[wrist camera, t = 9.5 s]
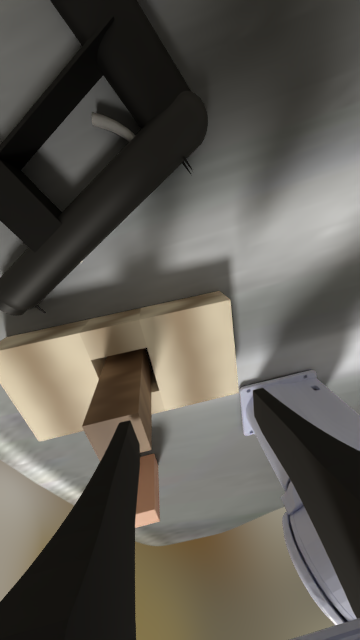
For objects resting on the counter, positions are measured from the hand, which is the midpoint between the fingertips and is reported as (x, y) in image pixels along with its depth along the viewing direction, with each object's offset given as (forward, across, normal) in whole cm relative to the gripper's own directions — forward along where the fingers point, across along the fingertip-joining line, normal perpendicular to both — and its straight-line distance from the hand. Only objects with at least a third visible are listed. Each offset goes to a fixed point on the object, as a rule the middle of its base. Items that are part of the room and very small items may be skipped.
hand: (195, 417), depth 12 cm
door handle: (+11, +6, -17) cm, 21 cm away
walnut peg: (+10, +5, +1) cm, 11 cm away
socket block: (+10, +5, +1) cm, 11 cm away
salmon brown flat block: (+10, +9, +17) cm, 22 cm away
